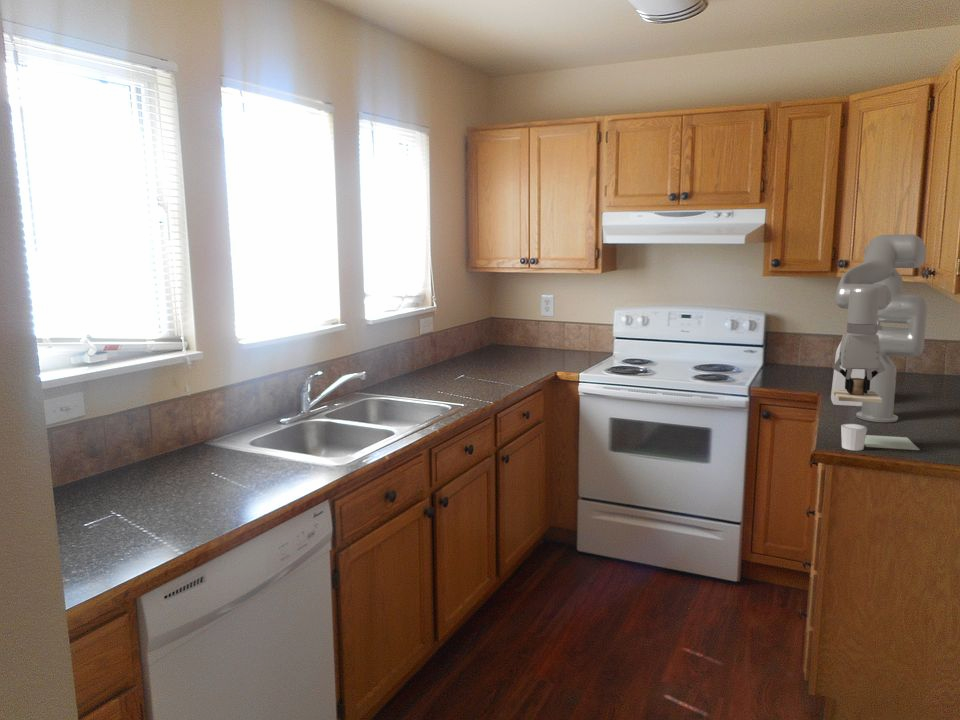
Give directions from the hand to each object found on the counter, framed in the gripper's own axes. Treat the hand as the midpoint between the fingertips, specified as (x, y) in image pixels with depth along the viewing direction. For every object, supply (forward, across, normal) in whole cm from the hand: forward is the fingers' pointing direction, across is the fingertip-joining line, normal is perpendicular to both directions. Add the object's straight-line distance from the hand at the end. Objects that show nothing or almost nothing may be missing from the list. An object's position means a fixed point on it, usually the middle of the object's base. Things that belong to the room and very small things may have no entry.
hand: (856, 391), depth 207 cm
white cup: (+17, 0, 0) cm, 17 cm away
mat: (+17, -11, -9) cm, 22 cm away
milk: (+17, -11, -67) cm, 70 cm away
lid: (+2, 0, 0) cm, 2 cm away
